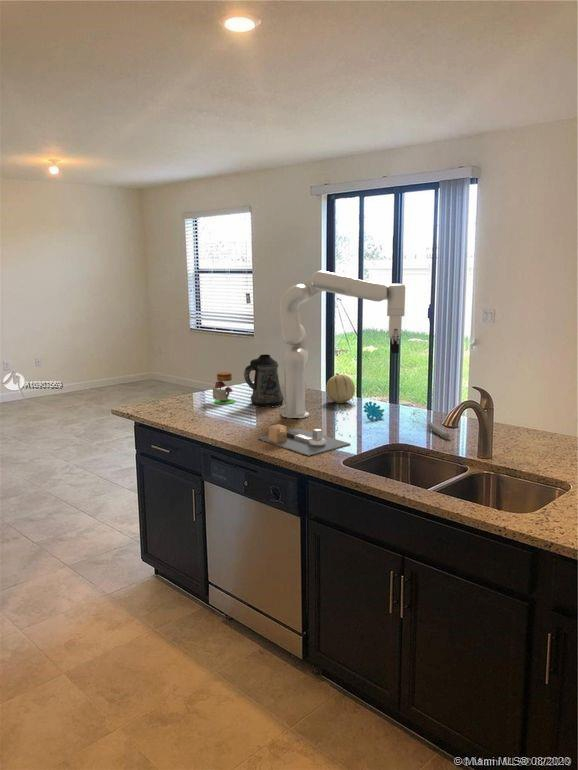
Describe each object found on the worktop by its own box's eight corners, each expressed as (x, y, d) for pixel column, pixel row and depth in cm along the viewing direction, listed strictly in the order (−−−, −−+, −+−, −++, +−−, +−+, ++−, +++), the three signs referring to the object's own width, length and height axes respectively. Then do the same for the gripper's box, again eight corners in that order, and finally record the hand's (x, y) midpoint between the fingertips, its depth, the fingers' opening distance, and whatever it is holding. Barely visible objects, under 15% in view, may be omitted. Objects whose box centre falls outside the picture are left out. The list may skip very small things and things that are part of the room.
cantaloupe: (346, 407, 293) (347, 377, 290) (320, 404, 301) (320, 374, 298) (359, 401, 306) (360, 372, 303) (334, 398, 313) (334, 370, 310)
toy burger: (222, 398, 314) (221, 370, 311) (240, 401, 307) (240, 372, 304) (206, 402, 305) (206, 373, 302) (225, 405, 298) (224, 376, 295)
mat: (257, 439, 239) (257, 437, 239) (298, 429, 253) (298, 428, 253) (308, 456, 217) (308, 455, 217) (350, 444, 231) (350, 443, 231)
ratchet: (275, 435, 243) (275, 420, 241) (287, 432, 247) (287, 418, 246) (317, 448, 225) (317, 433, 223) (329, 445, 229) (329, 430, 228)
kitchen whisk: (442, 442, 236) (443, 426, 234) (407, 421, 268) (407, 407, 267) (456, 441, 237) (457, 425, 236) (419, 420, 269) (420, 407, 268)
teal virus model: (368, 418, 264) (362, 400, 270) (362, 425, 269) (355, 407, 274) (389, 419, 269) (382, 401, 275) (382, 426, 274) (375, 408, 279)
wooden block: (268, 441, 235) (268, 426, 233) (278, 438, 238) (278, 424, 237) (277, 443, 231) (276, 428, 230) (286, 441, 234) (286, 426, 233)
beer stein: (289, 403, 303) (289, 354, 298) (268, 410, 287) (267, 359, 282) (263, 399, 312) (262, 351, 307) (240, 406, 296) (239, 356, 291)
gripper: (386, 311, 269) (385, 348, 273) (387, 314, 253) (386, 354, 256) (403, 311, 268) (402, 349, 272) (405, 314, 252) (404, 354, 255)
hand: (394, 351), depth 264 cm, fingers open, 9 cm apart
